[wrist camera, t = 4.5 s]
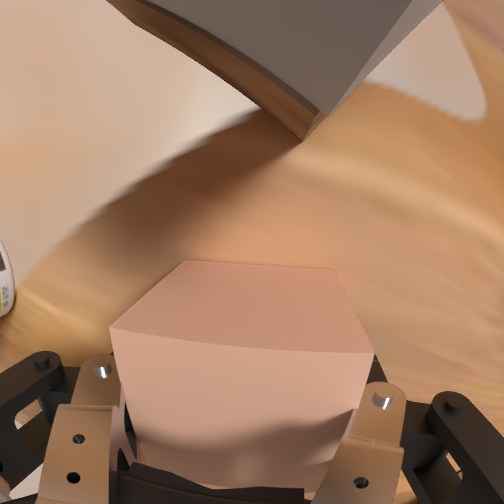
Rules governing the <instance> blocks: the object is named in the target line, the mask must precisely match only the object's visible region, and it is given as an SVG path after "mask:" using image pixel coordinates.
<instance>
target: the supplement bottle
mask: <svg viewBox="0 0 504 504" xmlns="http://www.w3.org/2000/svg"><path fill="white" fill-rule="evenodd" d="M14 295H15V284H14V276H13V270H12V266H11V263H10V259H9V257H8V254H7V252H6V250H5V247H4V245H3V243H2V242H1V240H0V318H1V317H2V316H4V315H5V314H7V313H8V312H9V310H10V309H11V307H12V305H13V301H14Z"/></svg>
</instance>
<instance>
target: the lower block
mask: <svg viewBox="0 0 504 504" xmlns="http://www.w3.org/2000/svg"><path fill="white" fill-rule="evenodd" d="M106 1H108V2H109V3H110V4H112V5H113V6H114V7H115V8H116V9H117V10H118V11H120V12H121V13H122V14H123V15H124V16H126V17H127V18H128V19H129V20H130V21H131V22H132V23H134V24H135V25H136V26H138V27H140V28H142V29H143V30H145V31H147V32H149V33H151V34H152V35H154V36H156V37H157V38H159V39H161V40H163V41H164V42H166V43H168V44H169V45H171V46H173V47H174V48H176V49H177V50H179V51H181V52H182V53H184V54H185V55H187V56H188V57H190V58H191V59H193V60H195V61H196V62H198V63H199V64H201V65H202V66H204V67H205V68H207V69H208V70H210V71H211V72H213V73H214V74H216V75H217V76H218V77H220V78H221V79H222V80H224V81H225V82H227V83H228V84H230V85H231V86H232V87H234V88H235V89H236V90H238V91H239V92H241V93H242V94H243V95H244V96H246V97H247V98H249V99H250V100H251V101H252V102H254V103H255V104H256V105H258V106H260V107H261V108H263V109H264V110H265V111H266V112H268V113H269V114H270V115H271V116H273V117H274V118H275V119H276V120H278V121H279V122H280V123H281V124H282V125H284V126H285V127H286V128H287V129H288V130H290V131H291V132H292V133H293V134H294V135H296V136H297V137H298V138H299V139H300V140H301V141H304V140H305V139H306V138H307V137H308V136H309V135H310V133H311V132H312V131H313V130H314V129H315V128H316V127H317V126H318V125H319V124H320V123H321V122H322V121H323V119H324V118H325V117H326V116H325V115H324V114H323V113H322V112H321V111H320V110H318V109H317V108H316V107H315V106H314V105H312V104H311V103H310V102H309V101H308V100H306V99H305V98H304V97H303V96H301V95H300V94H299V93H298V92H296V91H295V90H294V89H292V88H291V87H290V86H288V85H287V84H286V83H284V82H283V81H282V80H280V79H279V78H278V77H276V76H275V75H274V74H272V73H271V72H270V71H268V70H267V69H265V68H264V67H262V66H261V65H260V64H258V63H257V62H255V61H254V60H252V59H251V58H249V57H248V56H246V55H245V54H243V53H242V52H240V51H239V50H237V49H236V48H234V47H232V46H231V45H229V44H228V43H226V42H224V41H223V40H221V39H219V38H218V37H216V36H214V35H213V34H211V33H209V32H208V31H206V30H204V29H202V28H201V27H199V26H197V25H195V24H193V23H191V22H190V21H188V20H186V19H184V18H182V17H180V16H178V15H176V14H174V13H172V12H170V11H168V10H166V9H164V8H162V7H160V6H158V5H156V4H154V3H151V2H149V1H147V0H106Z"/></svg>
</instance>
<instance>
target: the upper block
mask: <svg viewBox="0 0 504 504" xmlns="http://www.w3.org/2000/svg"><path fill="white" fill-rule="evenodd" d="M147 1H149V2H151V3H154V4H156V5H158V6H160V7H162V8H164V9H166V10H168V11H170V12H172V13H174V14H176V15H178V16H180V17H182V18H184V19H186V20H188V21H190V22H191V23H193V24H195V25H197V26H199V27H201V28H202V29H204V30H206V31H208V32H209V33H211V34H213V35H214V36H216V37H218V38H219V39H221V40H223V41H224V42H226V43H228V44H229V45H231V46H232V47H234V48H236V49H237V50H239V51H240V52H242V53H243V54H245V55H246V56H248V57H249V58H251V59H252V60H254V61H255V62H257V63H258V64H260V65H261V66H262V67H264V68H265V69H267V70H268V71H270V72H271V73H272V74H274V75H275V76H276V77H278V78H279V79H280V80H282V81H283V82H284V83H286V84H287V85H288V86H290V87H291V88H292V89H294V90H295V91H296V92H298V93H299V94H300V95H301V96H303V97H304V98H305V99H306V100H308V101H309V102H310V103H311V104H312V105H314V106H315V107H316V108H317V109H318V110H320V111H321V112H322V113H323V114H324V115H325V116H327V117H329V116H330V114H331V113H332V112H333V111H334V110H335V109H336V108H337V107H338V106H339V105H340V104H341V103H342V102H343V101H344V100H345V98H346V97H347V96H348V95H349V94H350V93H351V92H352V91H353V90H354V89H355V88H356V87H357V86H358V85H359V84H360V83H361V82H362V81H363V80H364V79H365V78H366V76H367V75H368V74H369V73H370V72H371V71H372V70H373V69H374V68H375V67H376V66H377V65H378V64H379V63H380V62H381V61H382V60H383V59H384V58H385V57H386V56H387V55H388V54H389V53H390V52H391V51H392V50H393V49H394V48H395V47H396V46H397V45H398V44H399V43H400V42H401V41H402V40H403V39H404V38H405V37H406V36H407V35H408V34H409V33H410V32H411V31H412V30H413V29H414V28H415V27H416V26H417V25H418V24H419V23H420V22H421V21H422V20H423V19H424V18H425V17H426V16H427V15H429V14H430V13H431V12H432V11H433V10H434V9H435V8H436V7H437V6H438V5H439V4H440V3H441V2H442V1H443V0H147Z"/></svg>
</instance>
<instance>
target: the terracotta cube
mask: <svg viewBox="0 0 504 504" xmlns="http://www.w3.org/2000/svg"><path fill="white" fill-rule="evenodd" d="M109 331H110V337H111V342H112V347H113V352H114V357H115V361H116V366H117V370H118V374H119V378H120V382H122V385H123V389H124V393H125V402H126V405H127V409H128V412H129V415H130V419H131V422H132V425H133V428H134V432H135V433H136V434H137V437H138V440H139V443H140V449H141V452H142V455H143V458H144V460H145V463H146V466H150V467H153V468H157V469H161V470H165V471H169V472H172V473H174V474H176V475H178V476H181V477H183V478H185V479H187V480H190V481H194V482H199V483H205V484H210V485H216V486H223V487H230V488H248V487H257V486H264V487H281V488H304V493H308V492H317V490H318V488H319V486H320V484H321V482H322V480H323V478H324V476H325V474H326V472H327V470H328V468H329V466H330V464H331V461H332V459H333V457H334V455H335V453H336V450H337V448H338V446H339V443H340V441H341V439H342V436H343V435H344V433H345V431H346V428H347V426H348V423H349V421H350V418H351V415H352V413H353V410H354V408H358V407H359V404H360V401H361V398H362V395H363V392H364V388H365V385H366V382H367V379H368V375H369V372H370V368H371V365H372V361H373V358H374V354H375V352H374V350H373V348H372V345H371V343H370V341H369V339H368V337H367V335H366V333H365V330H364V328H363V326H362V324H361V322H360V320H359V318H358V316H357V314H356V312H355V310H354V308H353V306H352V303H351V301H350V299H349V297H348V295H347V293H346V291H345V289H344V287H343V285H342V284H341V282H340V280H339V278H338V276H337V274H336V272H335V270H329V269H313V268H297V267H282V266H266V265H252V264H237V263H223V262H209V261H195V260H184V261H183V262H182V263H181V264H180V265H178V266H177V267H176V268H175V269H174V270H173V271H171V272H170V273H169V274H168V275H167V276H166V277H165V278H163V279H162V280H161V281H160V282H159V283H158V284H156V285H155V286H154V287H153V288H152V289H151V290H150V291H148V292H147V293H146V294H145V295H144V296H143V297H142V298H140V299H139V300H138V301H137V302H136V303H135V304H134V305H133V306H131V307H130V308H129V309H128V310H127V311H126V312H125V313H124V314H123V315H121V316H120V317H119V318H118V319H117V320H116V321H115V322H114V323H113V324H111V325H110V326H109Z"/></svg>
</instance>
